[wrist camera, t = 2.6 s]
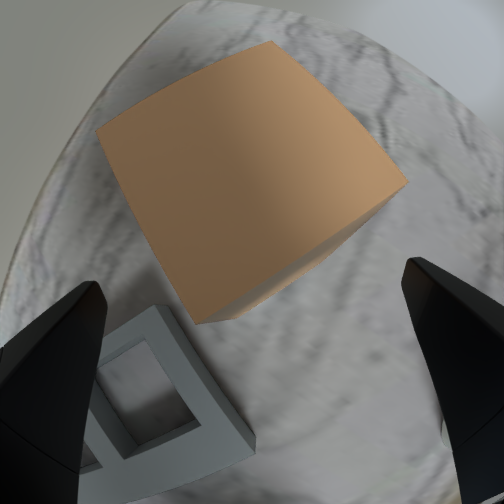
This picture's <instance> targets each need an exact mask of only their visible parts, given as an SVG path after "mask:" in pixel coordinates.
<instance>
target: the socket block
mask: <svg viewBox="0 0 504 504" xmlns="http://www.w3.org/2000/svg"><path fill="white" fill-rule="evenodd" d="M144 339H145V340H146V342H147V343H148V345H149V347H150V348H151V350H152V352H153V354H154V355H155V357H156V358H157V360H158V362H159V363H160V365H161V367H162V368H163V370H164V371H165V373H166V374H167V376H168V378H169V379H170V381H171V382H172V384H173V385H174V387H175V388H176V390H177V391H178V393H179V394H180V396H181V397H182V399H183V400H184V402H185V403H186V404H187V406H188V407H189V409H190V410H191V412H192V413H193V414H194V416H195V417H196V419H195V420H193V421H191V422H189V423H187V424H185V425H183V426H181V427H179V428H177V429H174V430H172V431H170V432H168V433H166V434H164V435H162V436H160V437H157V438H155V439H153V440H151V441H148V442H146V443H144V444H142V445H139V446H138V445H137V444H136V442H135V441H134V439H133V438H132V437H131V435H130V434H129V432H128V431H127V429H126V428H125V426H124V425H123V424H122V422H121V421H120V419H119V418H118V416H117V414H116V413H115V411H114V410H113V408H112V407H111V405H110V403H109V402H108V400H107V399H106V397H105V395H104V394H103V392H102V390H101V388H100V387H99V385H98V383H97V381H96V380H95V379H94V384H93V389H92V394H91V399H90V404H89V410H88V415H87V421H86V427H85V434H84V441H85V443H86V444H87V445H88V447H89V448H90V450H91V451H92V453H93V454H94V456H95V457H96V458H97V460H98V461H99V462H96V463H93V464H91V465H88V466H85V467H82V468H80V474H79V476H80V477H79V488H78V504H124V503H128V502H132V501H136V500H139V499H143V498H146V497H150V496H153V495H156V494H159V493H162V492H165V491H168V490H171V489H174V488H177V487H180V486H182V485H185V484H188V483H190V482H193V481H196V480H198V479H201V478H203V477H206V476H208V475H210V474H213V473H215V472H217V471H220V470H222V469H224V468H226V467H229V466H231V465H233V464H235V463H237V462H239V461H241V460H244V459H246V458H248V457H250V456H252V455H254V454H255V449H256V437H255V435H254V434H253V433H252V431H251V430H250V429H249V427H248V426H247V425H246V423H245V422H244V421H243V419H242V418H241V417H240V415H239V414H238V413H237V411H236V410H235V409H234V407H233V406H232V404H231V403H230V402H229V400H228V399H227V397H226V396H225V395H224V393H223V392H222V390H221V389H220V387H219V386H218V385H217V383H216V382H215V380H214V379H213V377H212V376H211V374H210V373H209V371H208V370H207V368H206V367H205V365H204V364H203V362H202V361H201V359H200V358H199V356H198V355H197V353H196V351H195V350H194V348H193V347H192V345H191V344H190V342H189V340H188V339H187V337H186V336H185V334H184V332H183V331H182V329H181V327H180V326H179V324H178V322H177V321H176V319H175V317H174V316H173V314H172V312H171V311H170V309H169V307H168V306H164V305H156V304H154V305H152V306H151V307H149V308H148V309H146V310H145V311H143V312H142V313H140V314H139V315H137V316H135V317H134V318H132V319H131V320H129V321H128V322H126V323H125V324H123V325H122V326H120V327H119V328H117V329H116V330H114V331H112V332H111V333H109V334H108V335H106V336H105V337H103V340H102V347H101V353H100V357H99V362H98V366H97V368H99V367H101V366H102V365H104V364H105V363H107V362H109V361H110V360H112V359H114V358H115V357H117V356H118V355H120V354H122V353H123V352H125V351H127V350H128V349H130V348H131V347H133V346H135V345H136V344H138V343H139V342H141V341H143V340H144Z"/></svg>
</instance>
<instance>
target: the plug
mask: <svg viewBox="0 0 504 504" xmlns="http://www.w3.org/2000/svg"><path fill="white" fill-rule="evenodd" d="M95 132H96V134H97V136H98V139H99V141H100V143H101V146H102V148H103V150H104V153H105V155H106V157H107V159H108V162H109V164H110V166H111V168H112V170H113V173H114V175H115V177H116V179H117V181H118V183H119V185H120V187H121V190H122V192H123V194H124V196H125V198H126V200H127V202H128V204H129V206H130V208H131V210H132V212H133V214H134V216H135V218H136V220H137V222H138V224H139V226H140V228H141V230H142V231H143V233H144V235H145V237H146V239H147V241H148V243H149V245H150V247H151V248H152V250H153V252H154V254H155V256H156V258H157V259H158V261H159V263H160V265H161V267H162V268H163V270H164V272H165V274H166V275H167V277H168V279H169V281H170V282H171V284H172V286H173V288H174V289H175V291H176V293H177V295H178V296H179V298H180V300H181V301H182V303H183V305H184V306H185V308H186V310H187V311H188V313H189V315H190V316H191V318H192V319H193V321H194V323H195V324H196V325H198V324H204V323H211V322H217V321H223V320H230V319H236V318H238V317H240V316H241V315H243V314H244V313H246V312H248V311H249V310H251V309H252V308H254V307H255V306H257V305H258V304H260V303H261V302H263V301H265V300H266V299H268V298H269V297H271V296H272V295H274V294H275V293H277V292H278V291H280V290H281V289H283V288H284V287H286V286H287V285H289V284H290V283H292V282H293V281H295V280H296V279H298V278H299V277H301V276H302V275H304V274H305V273H307V272H308V271H309V270H311V269H312V268H314V267H315V266H317V265H318V264H320V263H321V262H322V261H324V260H325V259H326V258H327V257H328V256H329V255H330V254H332V253H333V252H334V251H335V250H336V249H337V248H338V247H339V246H341V245H342V244H343V243H344V242H345V241H346V240H347V239H348V238H349V237H351V236H352V235H353V234H354V233H355V232H356V231H357V230H358V229H359V228H360V227H362V226H363V225H364V224H365V223H366V222H367V221H368V220H369V219H370V218H371V217H372V216H373V215H375V214H376V213H377V212H378V211H379V210H380V209H381V208H382V207H383V206H384V205H385V204H386V203H387V202H388V201H389V200H391V199H392V198H393V197H394V196H395V195H396V194H397V193H398V192H399V191H400V190H401V189H402V188H403V187H404V186H405V185H406V184H407V183H408V182H409V181H408V180H407V179H406V177H405V176H404V175H403V173H402V172H401V171H400V170H399V168H398V167H397V166H396V165H395V163H394V162H393V161H392V160H391V158H390V157H389V156H388V155H387V153H386V152H385V151H384V150H383V149H382V147H381V146H380V145H379V144H378V143H377V142H376V140H375V139H374V138H373V137H372V136H371V135H370V133H369V132H368V131H367V130H366V129H365V128H364V127H363V126H362V125H361V123H360V122H359V121H358V120H357V119H356V118H355V117H354V116H353V115H352V114H351V113H350V112H349V111H348V110H347V109H346V108H345V106H344V105H343V104H342V103H341V102H340V101H339V100H338V99H337V98H336V97H335V96H334V95H333V94H332V93H331V92H330V91H329V90H327V89H326V88H325V87H324V86H323V85H322V84H321V83H320V82H319V81H318V80H317V79H316V78H315V77H314V76H313V75H311V74H310V73H309V72H308V71H307V70H306V69H305V68H304V67H303V66H301V65H300V64H299V63H298V62H297V61H296V60H295V59H293V58H292V57H291V56H290V55H289V54H287V53H286V52H285V51H284V50H283V49H281V48H280V47H279V46H278V45H276V44H275V43H274V42H273V41H268V42H265V43H263V44H260V45H257V46H254V47H252V48H249V49H247V50H244V51H241V52H239V53H236V54H234V55H232V56H229V57H227V58H224V59H222V60H220V61H218V62H215V63H213V64H211V65H209V66H207V67H204V68H202V69H200V70H198V71H196V72H194V73H192V74H190V75H188V76H186V77H184V78H182V79H180V80H178V81H176V82H174V83H172V84H170V85H169V86H167V87H165V88H163V89H161V90H159V91H158V92H156V93H154V94H152V95H151V96H149V97H147V98H145V99H144V100H142V101H140V102H139V103H137V104H135V105H134V106H132V107H131V108H129V109H127V110H126V111H124V112H123V113H121V114H120V115H118V116H117V117H115V118H113V119H112V120H110V121H109V122H108V123H106V124H105V125H103V126H102V127H100V128H99V129H97V130H96V131H95Z"/></svg>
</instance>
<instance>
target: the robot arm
mask: <svg viewBox="0 0 504 504" xmlns="http://www.w3.org/2000/svg"><path fill="white" fill-rule="evenodd" d="M401 286H402V291H403V294H404V297H405V300H406V303H407V307H408V310H409V314H410V317H411V321H412V324H413V327H414V331H415V333H416V336H417V339H418V341H419V344H420V347H421V349H422V352H423V355H424V358H425V360H426V363H427V366H428V369H429V372H430V375H431V378H432V381H433V384H434V387H435V390H436V393H437V397H438V400H439V403H440V406H441V410H442V413H443V417H444V421H445V424H446V428H447V432H448V436H449V440H450V444H451V448H452V451H453V452H452V453H453V458H454V462H455V467H456V472H457V477H458V483H459V488H460V494H461V501H462V504H478V503H480V502H483V501H485V500H487V499H490V498H491V497H494V496H496V495H498V494H501V493H503V492H504V306H503V305H501V304H500V303H498V302H496V301H495V300H493V299H492V298H490V297H489V296H487V295H485V294H484V293H482V292H480V291H479V290H477V289H476V288H474V287H472V286H471V285H469V284H467V283H466V282H464V281H462V280H461V279H459V278H457V277H456V276H454V275H452V274H450V273H449V272H447V271H445V270H443V269H442V268H440V267H438V266H436V265H435V264H433V263H431V262H429V261H427V260H426V259H424V258H422V257H413V258H409V259H408V260H407V262H406V266H405V269H404V273H403V277H402V281H401ZM107 309H108V306H107V301H106V299H105V297H104V294H103V292H102V290H101V288H100V285H99V283H98V282H97V281H84V282H83V283H81V284H80V285H78V286H77V287H76V288H74V289H73V290H72V291H71V292H69V293H68V294H67V295H65V296H64V297H63V298H61V299H60V300H59V301H57V302H56V303H55V304H54V305H52V306H51V307H50V308H49V309H47V310H46V311H45V312H43V313H42V314H41V315H40V316H39V317H37V318H36V319H35V320H34V321H32V322H31V323H30V324H29V325H27V326H26V327H25V328H24V329H23V330H21V331H20V332H19V333H18V334H17V335H15V336H14V337H13V338H12V339H11V340H10V341H8V342H7V343H6V344H5V345H4V347H1V348H0V504H78V488H79V477H80V476H79V474H80V465H81V456H82V448H83V441H84V434H85V427H86V421H87V415H88V410H89V404H90V399H91V394H92V389H93V384H94V379H95V375H96V370H97V366H98V362H99V357H100V353H101V347H102V340H103V334H104V327H105V321H106V315H107ZM493 504H504V497H502V498H501V499H499V500H497V501H496V502H495V503H493Z"/></svg>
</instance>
